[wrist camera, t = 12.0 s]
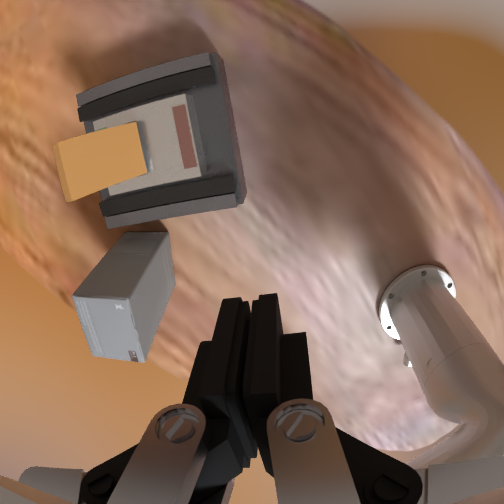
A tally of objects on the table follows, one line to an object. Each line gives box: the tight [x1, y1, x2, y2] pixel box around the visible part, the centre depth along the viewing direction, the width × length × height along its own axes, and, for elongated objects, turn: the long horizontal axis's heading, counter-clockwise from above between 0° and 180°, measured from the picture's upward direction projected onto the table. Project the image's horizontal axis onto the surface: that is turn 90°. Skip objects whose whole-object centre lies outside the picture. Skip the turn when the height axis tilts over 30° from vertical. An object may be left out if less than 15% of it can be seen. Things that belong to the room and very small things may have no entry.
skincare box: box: [72, 232, 175, 363], centre depth 35 cm, size 8×7×16 cm
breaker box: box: [76, 52, 247, 229], centre depth 32 cm, size 16×16×8 cm
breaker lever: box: [52, 121, 148, 202], centre depth 25 cm, size 5×2×8 cm
